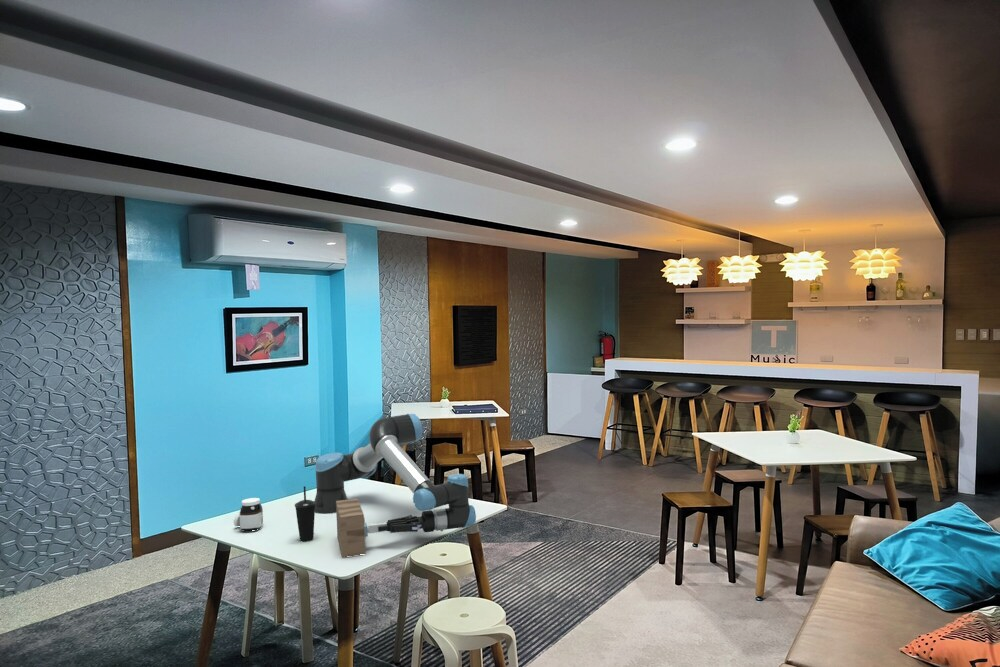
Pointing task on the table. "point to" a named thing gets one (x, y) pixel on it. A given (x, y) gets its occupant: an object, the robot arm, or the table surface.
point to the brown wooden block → (350, 527)
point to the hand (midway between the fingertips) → (368, 529)
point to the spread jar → (250, 515)
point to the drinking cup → (305, 518)
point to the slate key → (365, 529)
